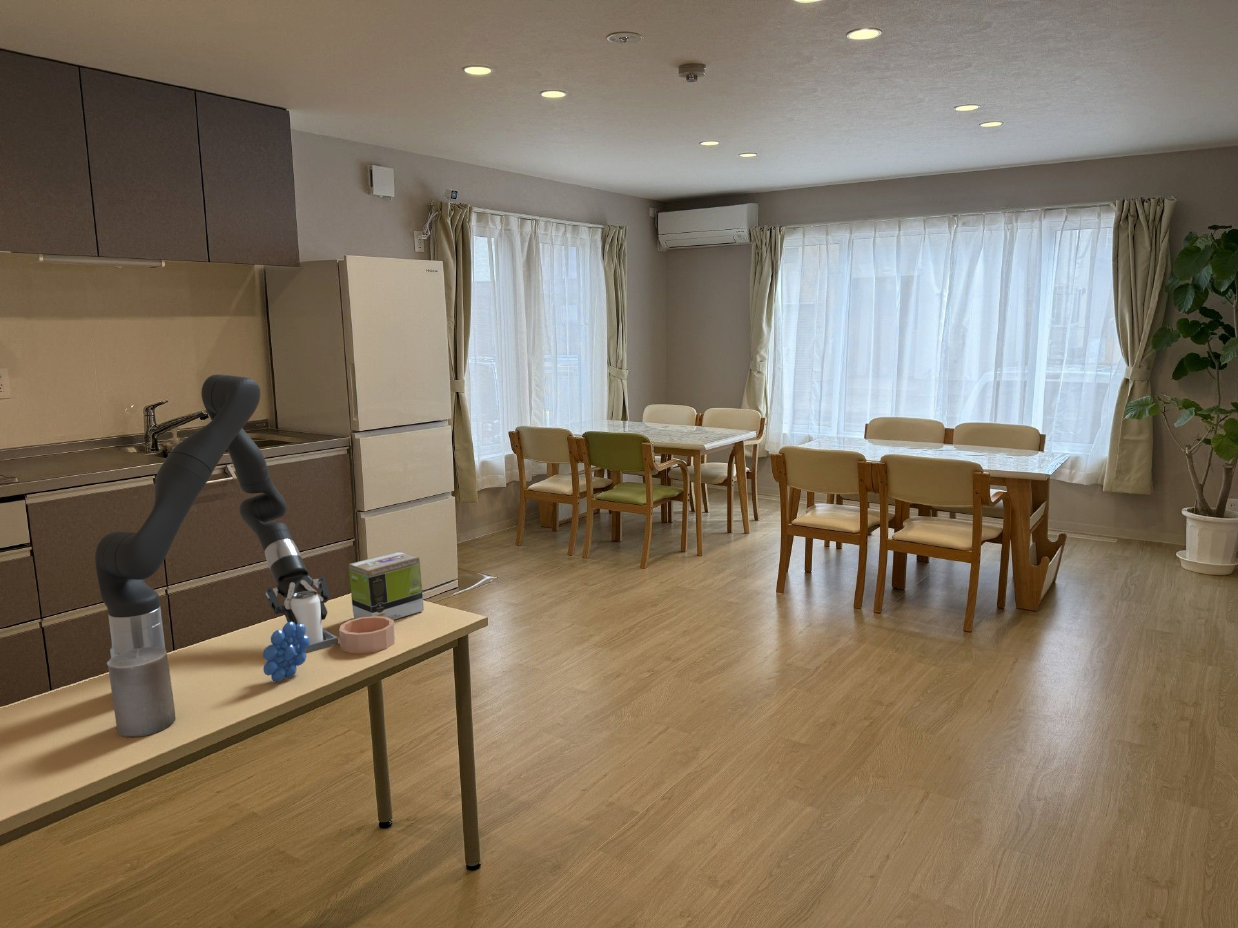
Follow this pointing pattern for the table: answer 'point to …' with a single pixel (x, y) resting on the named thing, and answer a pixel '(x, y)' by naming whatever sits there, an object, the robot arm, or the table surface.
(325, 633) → the tray
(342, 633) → the bowl
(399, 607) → the tea box
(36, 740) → the table surface
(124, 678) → the pillar candle
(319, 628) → the can
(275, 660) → the blue lumpy cluster
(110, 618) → the robot arm
